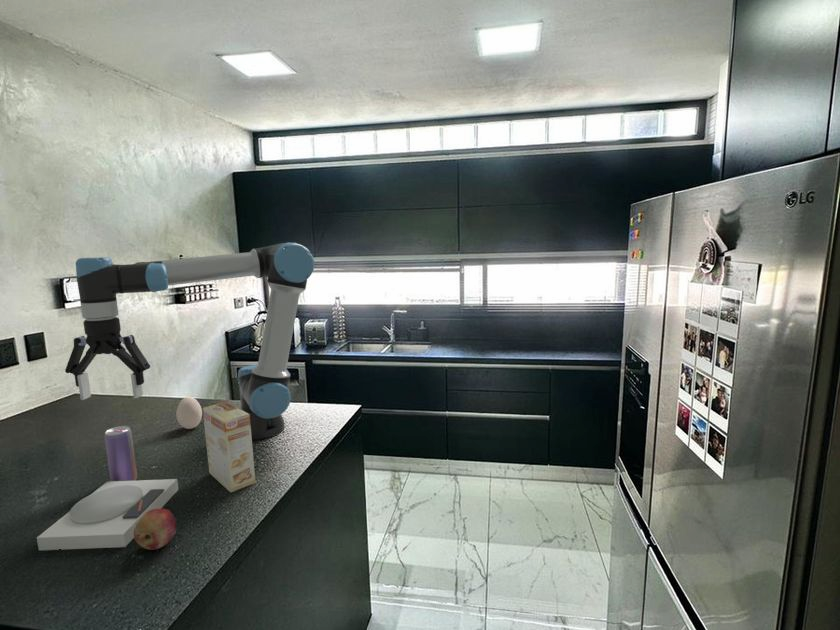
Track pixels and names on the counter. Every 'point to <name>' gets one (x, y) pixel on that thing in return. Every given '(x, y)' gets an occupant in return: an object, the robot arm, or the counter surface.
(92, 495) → the scale
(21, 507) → the counter surface
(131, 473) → the beverage can
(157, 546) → the fruit
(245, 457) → the coffeecake box
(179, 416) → the egg
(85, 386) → the robot arm
